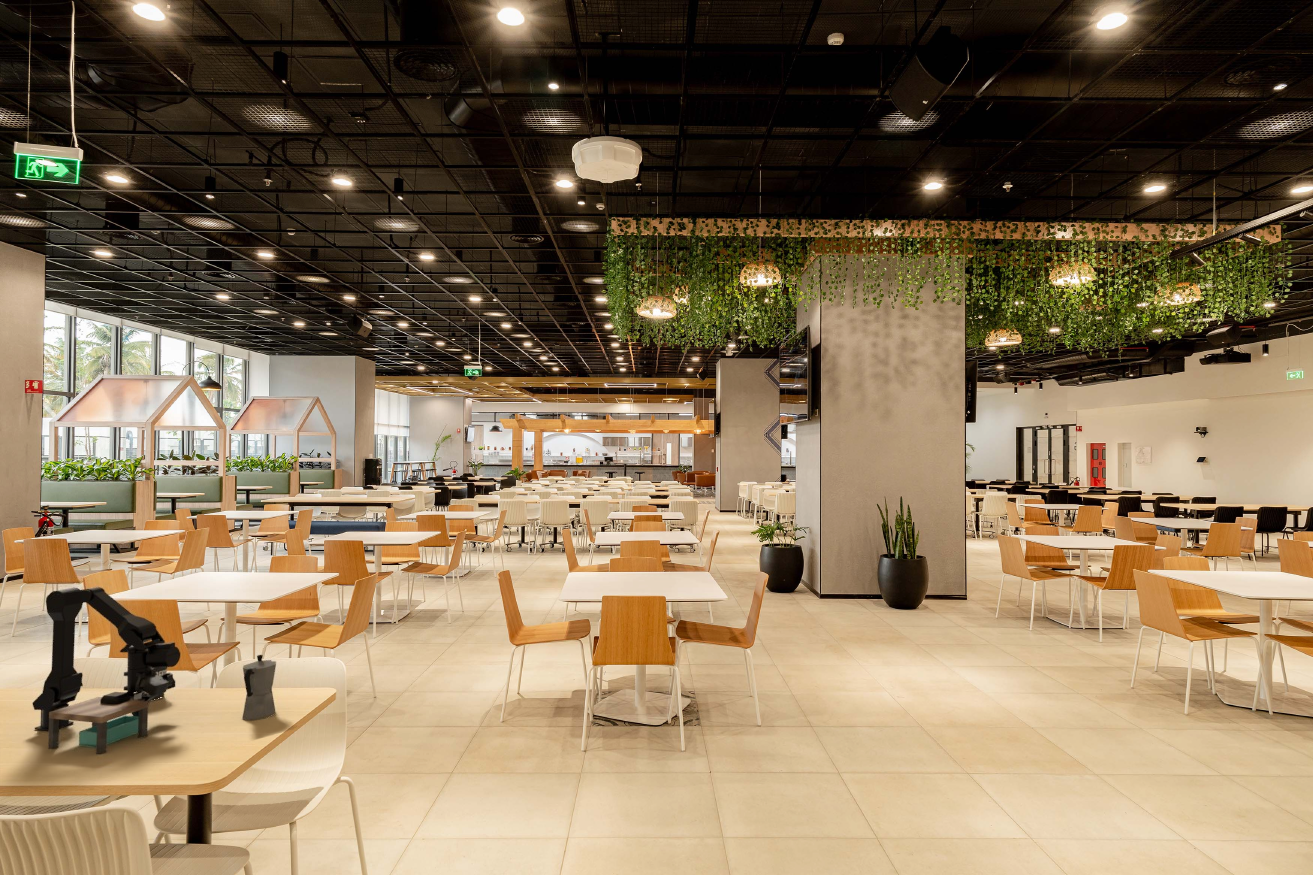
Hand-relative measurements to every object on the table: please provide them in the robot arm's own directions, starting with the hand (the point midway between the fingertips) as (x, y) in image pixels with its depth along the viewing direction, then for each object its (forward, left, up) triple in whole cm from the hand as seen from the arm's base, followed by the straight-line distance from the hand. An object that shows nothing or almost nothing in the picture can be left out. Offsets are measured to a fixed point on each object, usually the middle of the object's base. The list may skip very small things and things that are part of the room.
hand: (139, 721), depth 205 cm
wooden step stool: (0, -12, -2) cm, 12 cm away
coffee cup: (-21, +22, -2) cm, 31 cm away
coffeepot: (+27, +15, -2) cm, 31 cm away
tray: (0, -8, -2) cm, 8 cm away
